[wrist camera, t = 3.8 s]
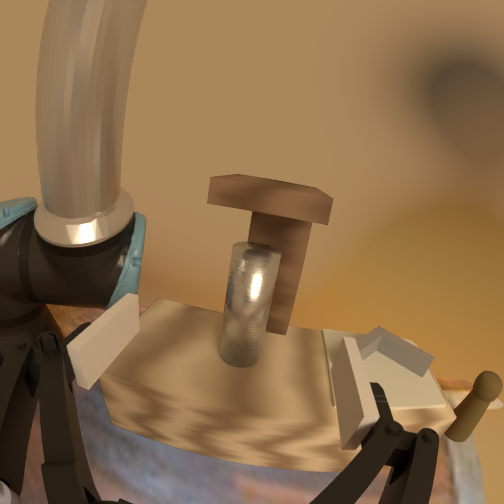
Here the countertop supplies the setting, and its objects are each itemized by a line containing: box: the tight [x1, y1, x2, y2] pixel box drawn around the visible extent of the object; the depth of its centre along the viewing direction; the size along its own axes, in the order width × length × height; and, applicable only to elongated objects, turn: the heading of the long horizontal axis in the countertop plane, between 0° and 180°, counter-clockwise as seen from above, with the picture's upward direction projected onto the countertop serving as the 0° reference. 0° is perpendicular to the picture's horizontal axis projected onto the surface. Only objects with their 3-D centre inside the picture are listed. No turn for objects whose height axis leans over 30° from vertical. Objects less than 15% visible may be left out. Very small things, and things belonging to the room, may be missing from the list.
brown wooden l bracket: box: [207, 174, 333, 335], centre depth 28 cm, size 9×12×18 cm
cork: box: [444, 371, 503, 442], centre depth 26 cm, size 6×6×11 cm
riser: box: [99, 298, 457, 472], centre depth 30 cm, size 38×16×10 cm, turn 83°
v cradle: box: [322, 326, 446, 409], centre depth 28 cm, size 14×14×3 cm
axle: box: [219, 242, 281, 368], centre depth 27 cm, size 4×4×12 cm
